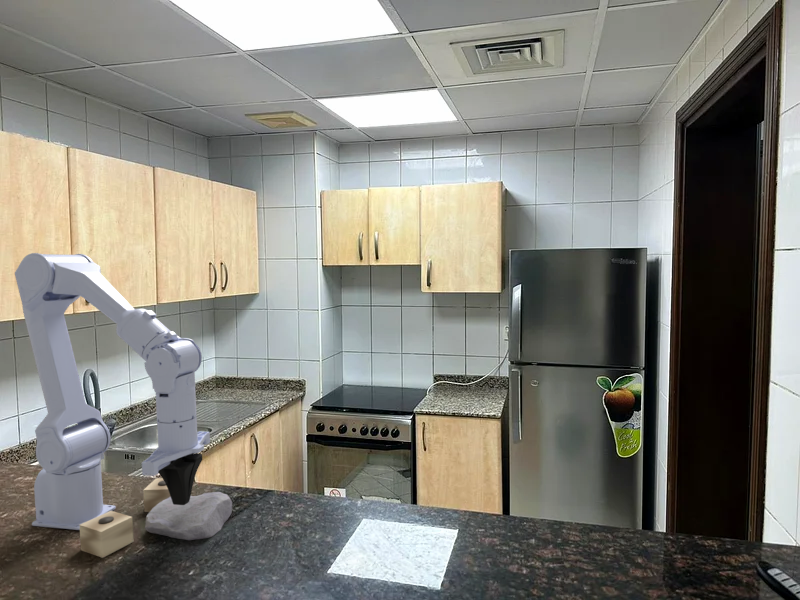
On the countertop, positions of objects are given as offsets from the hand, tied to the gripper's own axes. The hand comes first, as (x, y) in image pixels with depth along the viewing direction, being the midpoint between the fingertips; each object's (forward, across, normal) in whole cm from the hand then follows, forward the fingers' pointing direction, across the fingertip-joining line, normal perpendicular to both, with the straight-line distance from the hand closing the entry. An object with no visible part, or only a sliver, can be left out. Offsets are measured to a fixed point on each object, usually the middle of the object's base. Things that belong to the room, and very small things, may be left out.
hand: (181, 503), depth 84 cm
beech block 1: (+5, -6, +8) cm, 11 cm away
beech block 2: (+5, +8, +9) cm, 13 cm away
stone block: (+5, +2, 0) cm, 5 cm away
